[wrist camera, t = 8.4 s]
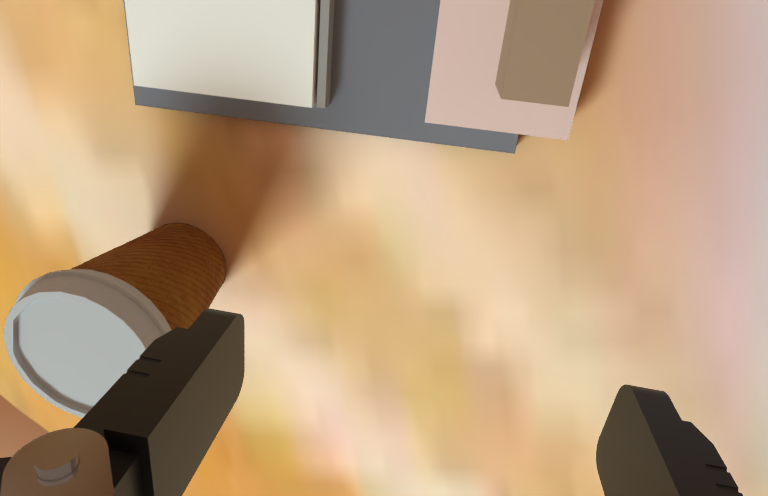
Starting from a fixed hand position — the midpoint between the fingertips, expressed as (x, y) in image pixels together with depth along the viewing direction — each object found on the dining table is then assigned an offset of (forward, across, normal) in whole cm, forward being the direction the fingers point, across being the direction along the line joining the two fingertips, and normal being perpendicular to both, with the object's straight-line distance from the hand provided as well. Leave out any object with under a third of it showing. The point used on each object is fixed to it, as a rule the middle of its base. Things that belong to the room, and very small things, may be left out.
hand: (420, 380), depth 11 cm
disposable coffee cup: (+24, +18, +12) cm, 32 cm away
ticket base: (+23, +8, -6) cm, 25 cm away
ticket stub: (+22, -3, -6) cm, 23 cm away
